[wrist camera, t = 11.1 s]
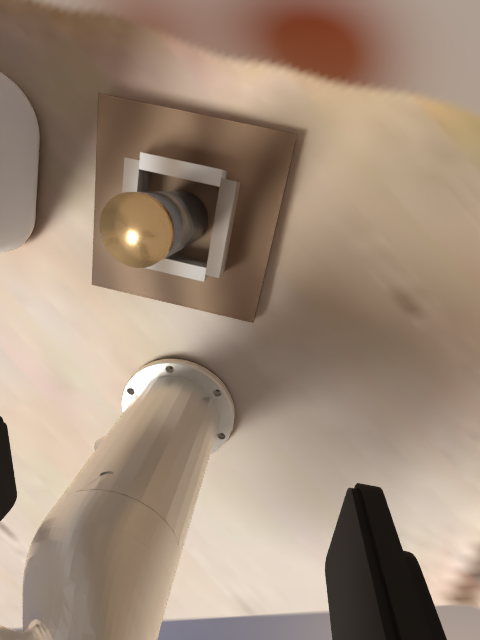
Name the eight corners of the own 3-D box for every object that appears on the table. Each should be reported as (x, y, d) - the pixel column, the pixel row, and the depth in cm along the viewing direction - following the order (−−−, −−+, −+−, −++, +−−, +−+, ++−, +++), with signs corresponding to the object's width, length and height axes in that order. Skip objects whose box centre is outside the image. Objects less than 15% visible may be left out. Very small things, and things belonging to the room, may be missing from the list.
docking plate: (296, 136, 27) (298, 128, 24) (254, 318, 33) (250, 333, 30) (106, 96, 28) (80, 83, 25) (98, 281, 34) (77, 291, 31)
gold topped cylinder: (178, 253, 31) (130, 281, 21) (148, 210, 30) (84, 220, 20) (218, 225, 29) (185, 242, 20) (188, 179, 28) (139, 175, 19)
